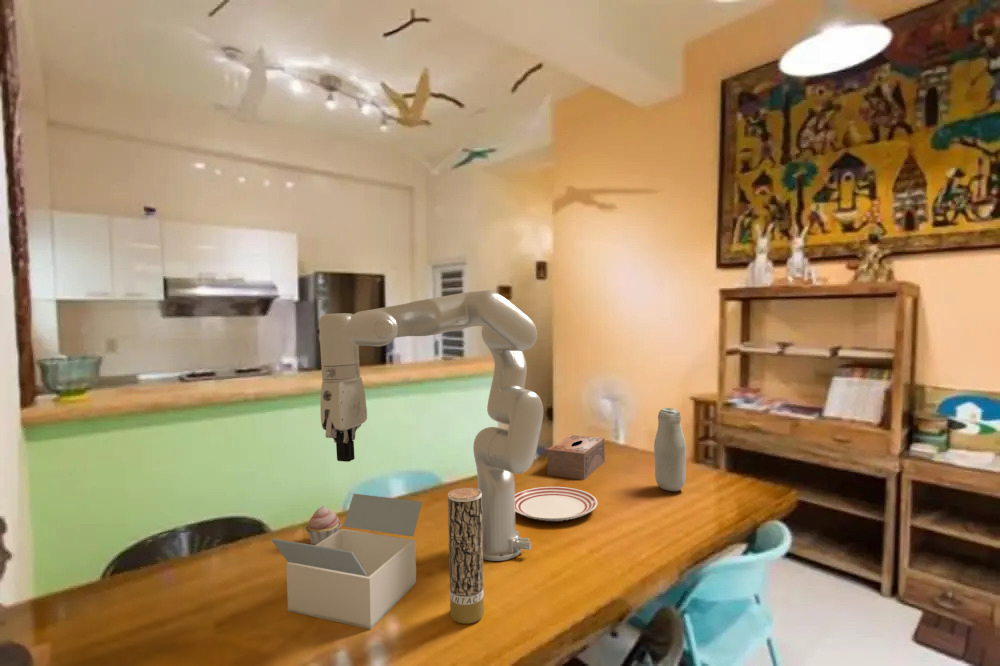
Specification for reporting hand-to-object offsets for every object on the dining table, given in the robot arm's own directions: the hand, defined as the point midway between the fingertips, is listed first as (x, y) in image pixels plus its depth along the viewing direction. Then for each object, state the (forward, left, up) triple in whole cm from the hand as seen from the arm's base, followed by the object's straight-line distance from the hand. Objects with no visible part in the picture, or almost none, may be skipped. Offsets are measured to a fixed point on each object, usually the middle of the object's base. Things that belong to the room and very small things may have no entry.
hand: (345, 460), depth 107 cm
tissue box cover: (-27, -109, -31) cm, 117 cm away
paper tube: (-25, -4, -31) cm, 40 cm away
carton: (+1, -3, -31) cm, 31 cm away
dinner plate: (-28, -64, -31) cm, 77 cm away
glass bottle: (-62, -93, -31) cm, 116 cm away
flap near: (+1, +8, -17) cm, 19 cm away
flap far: (+1, -14, -17) cm, 22 cm away
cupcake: (+25, -23, -31) cm, 46 cm away
